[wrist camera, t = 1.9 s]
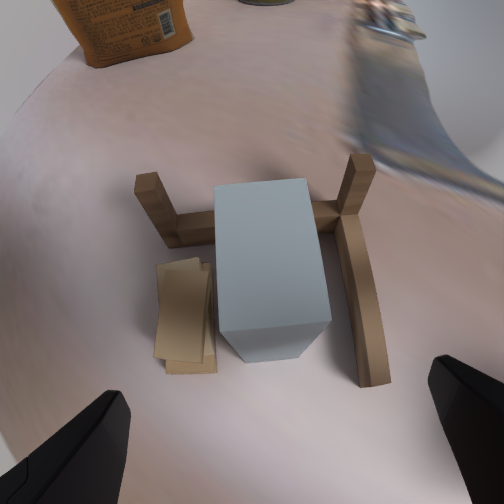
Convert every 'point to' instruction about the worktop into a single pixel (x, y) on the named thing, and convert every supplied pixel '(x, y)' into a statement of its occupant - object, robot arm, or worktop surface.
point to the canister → (266, 2)
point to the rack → (327, 221)
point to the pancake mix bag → (125, 28)
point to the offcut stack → (186, 317)
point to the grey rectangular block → (269, 269)
